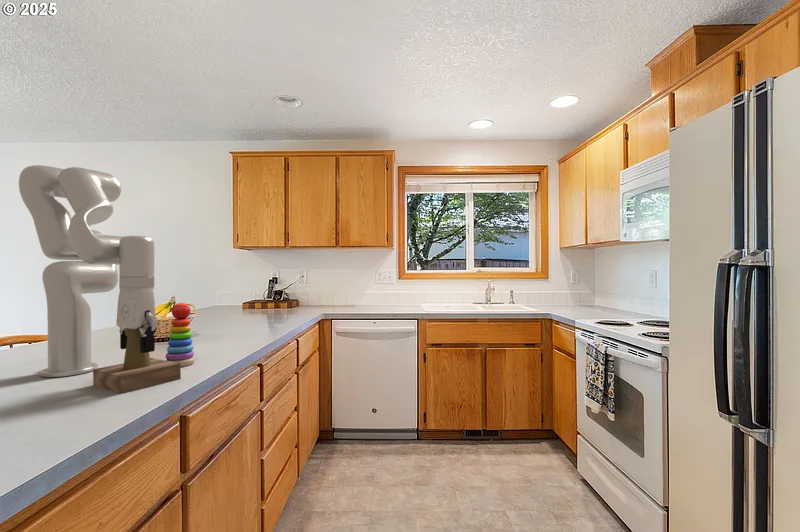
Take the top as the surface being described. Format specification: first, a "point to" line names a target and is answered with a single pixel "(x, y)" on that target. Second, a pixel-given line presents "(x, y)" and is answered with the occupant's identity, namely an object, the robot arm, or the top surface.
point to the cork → (135, 351)
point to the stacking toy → (180, 337)
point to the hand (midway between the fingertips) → (137, 350)
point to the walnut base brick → (136, 376)
